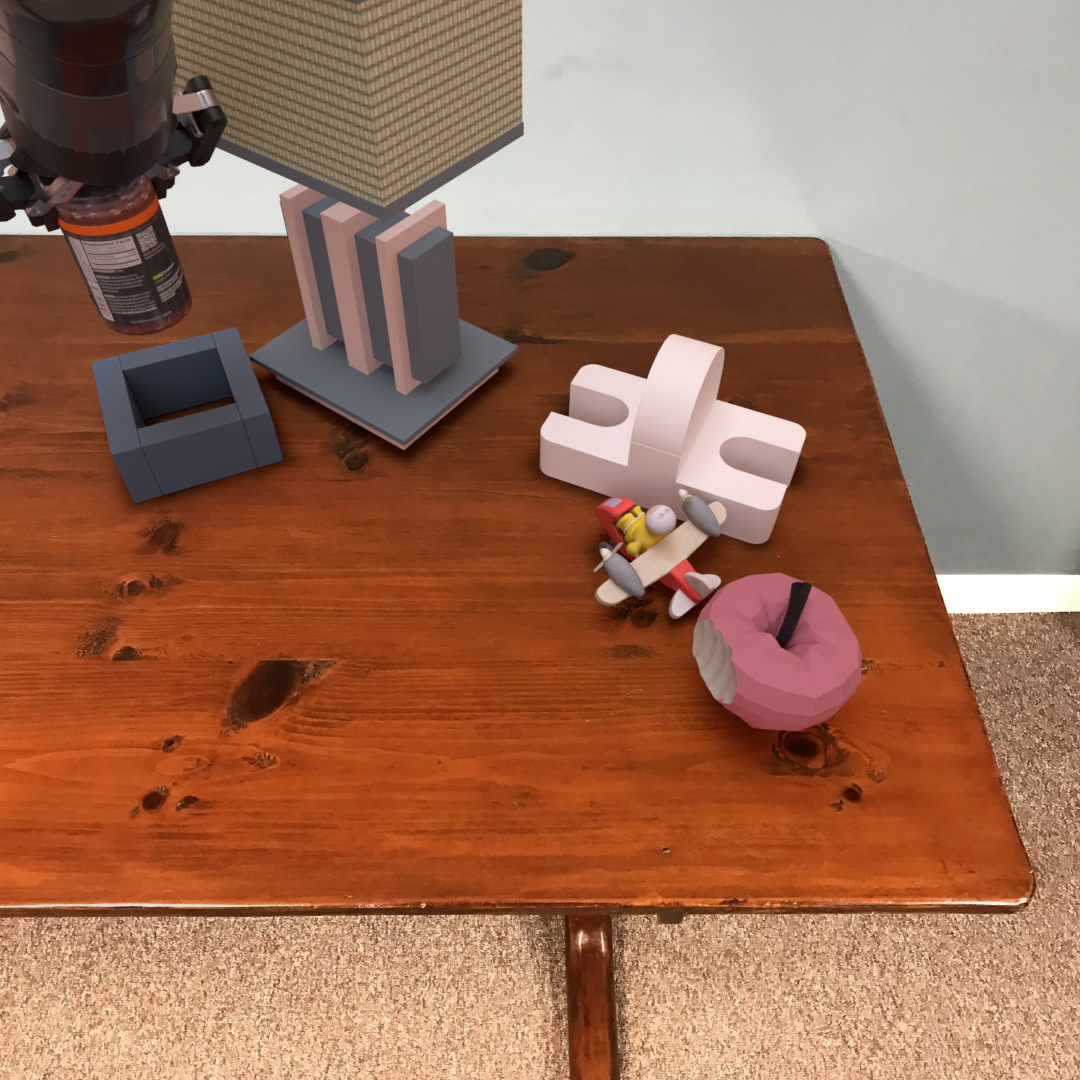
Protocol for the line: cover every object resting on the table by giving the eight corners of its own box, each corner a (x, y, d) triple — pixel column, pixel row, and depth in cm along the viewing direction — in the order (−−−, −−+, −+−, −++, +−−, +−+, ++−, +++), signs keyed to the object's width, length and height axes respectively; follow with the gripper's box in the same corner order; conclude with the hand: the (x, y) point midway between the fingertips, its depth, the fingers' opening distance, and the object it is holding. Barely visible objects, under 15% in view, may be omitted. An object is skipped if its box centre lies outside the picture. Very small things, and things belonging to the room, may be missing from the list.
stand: (135, 504, 65) (110, 454, 62) (114, 411, 72) (91, 361, 68) (283, 460, 68) (269, 411, 65) (251, 375, 75) (236, 326, 71)
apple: (667, 649, 58) (689, 551, 50) (792, 626, 59) (832, 528, 52) (716, 785, 52) (749, 698, 44) (855, 757, 53) (910, 667, 46)
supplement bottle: (120, 285, 62) (54, 121, 53) (205, 288, 62) (153, 124, 53) (88, 338, 58) (11, 170, 49) (179, 342, 58) (118, 173, 49)
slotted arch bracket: (583, 395, 74) (590, 282, 66) (798, 461, 69) (835, 348, 61) (534, 471, 68) (536, 357, 60) (765, 548, 63) (801, 436, 55)
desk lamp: (525, 374, 75) (526, -82, 50) (415, 469, 68) (351, -10, 43) (366, 296, 82) (296, -139, 57) (249, 376, 75) (111, -85, 50)
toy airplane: (592, 524, 65) (598, 461, 60) (718, 532, 64) (734, 469, 60) (588, 628, 59) (594, 567, 54) (726, 637, 59) (745, 577, 54)
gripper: (200, -50, 42) (185, 111, 57) (-139, 15, 37) (-56, 172, 52) (271, 108, 43) (238, 223, 59) (-47, 192, 38) (8, 295, 53)
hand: (100, 199), depth 55 cm, fingers closed on supplement bottle, 6 cm apart
